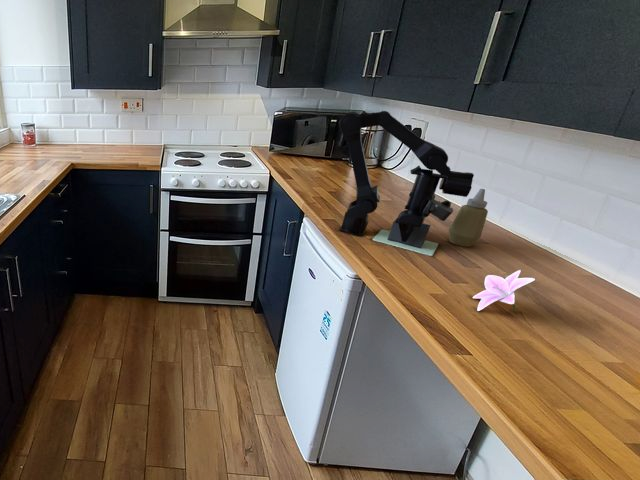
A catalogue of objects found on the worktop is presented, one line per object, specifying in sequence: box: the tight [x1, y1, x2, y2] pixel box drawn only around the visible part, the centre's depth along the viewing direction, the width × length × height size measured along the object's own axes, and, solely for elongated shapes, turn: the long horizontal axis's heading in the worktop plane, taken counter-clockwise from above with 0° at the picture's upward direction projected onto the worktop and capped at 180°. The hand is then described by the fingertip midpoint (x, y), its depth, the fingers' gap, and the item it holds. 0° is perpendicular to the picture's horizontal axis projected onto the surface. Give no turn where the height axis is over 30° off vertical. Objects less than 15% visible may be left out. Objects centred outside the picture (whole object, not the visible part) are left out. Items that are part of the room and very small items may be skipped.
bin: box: [387, 218, 431, 249], centre depth 126 cm, size 9×6×6 cm
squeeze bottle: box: [448, 188, 489, 248], centre depth 124 cm, size 8×8×18 cm
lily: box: [472, 269, 536, 313], centre depth 92 cm, size 12×12×10 cm
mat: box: [372, 228, 439, 257], centre depth 127 cm, size 16×12×1 cm
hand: (406, 237), depth 126 cm, fingers open, 9 cm apart
